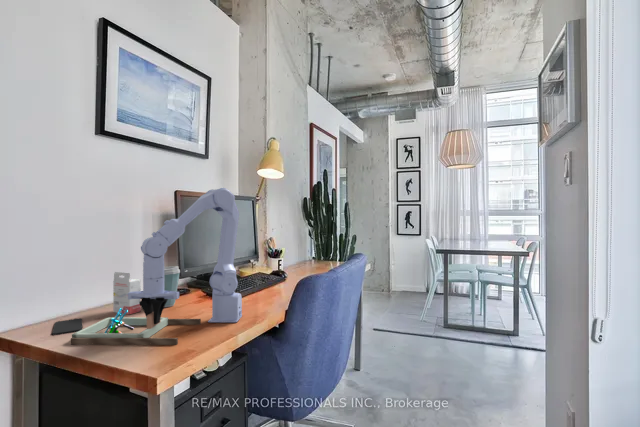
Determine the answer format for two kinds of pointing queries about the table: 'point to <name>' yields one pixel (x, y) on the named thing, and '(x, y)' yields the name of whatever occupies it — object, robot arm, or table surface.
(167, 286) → the disposable coffee cup
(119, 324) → the stick construction toy
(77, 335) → the open rectangular frame
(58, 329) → the phone
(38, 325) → the table surface
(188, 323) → the guide rails
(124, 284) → the ink cartridge box
